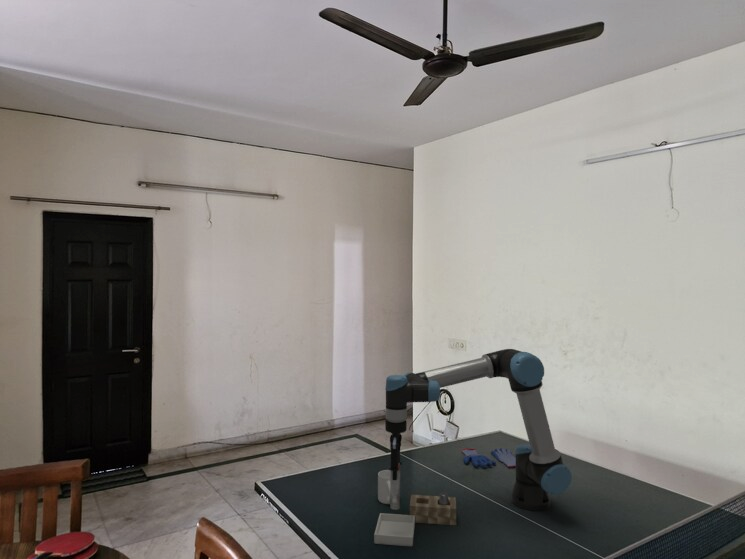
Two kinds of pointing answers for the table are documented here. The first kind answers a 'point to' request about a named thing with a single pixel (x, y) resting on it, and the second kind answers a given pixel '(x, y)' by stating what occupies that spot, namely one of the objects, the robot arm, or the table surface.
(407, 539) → the tray
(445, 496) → the short pin
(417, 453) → the table surface
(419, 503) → the block
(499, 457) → the pair of gloves
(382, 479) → the mug
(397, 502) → the glass vial with cap
